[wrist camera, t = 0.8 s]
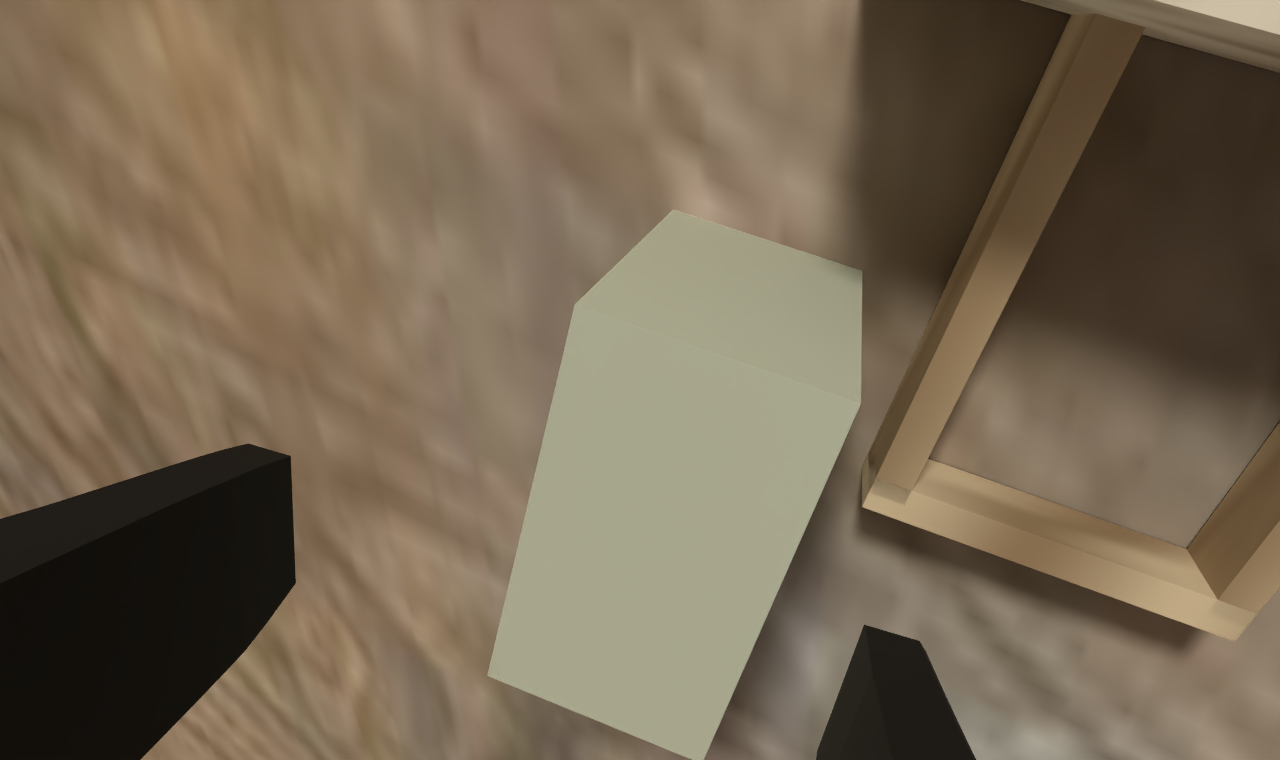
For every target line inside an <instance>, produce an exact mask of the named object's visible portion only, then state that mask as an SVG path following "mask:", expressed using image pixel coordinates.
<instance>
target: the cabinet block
mask: <svg viewBox="0 0 1280 760" xmlns="http://www.w3.org/2000/svg"><path fill="white" fill-rule="evenodd" d="M861 352H862V271H861V270H858V269H855V268H852V267H849V266H846V265H843V264H839V263H836V262H833V261H830V260H827V259H824V258H821V257H818V256H815V255H812V254H809V253H806V252H803V251H800V250H797V249H794V248H790V247H787V246H784V245H781V244H778V243H775V242H772V241H769V240H766V239H763V238H760V237H757V236H754V235H751V234H748V233H744V232H741V231H738V230H735V229H732V228H729V227H726V226H723V225H720V224H717V223H714V222H711V221H708V220H705V219H702V218H699V217H695V216H692V215H689V214H686V213H683V212H680V211H677V210H674V209H673V210H672V211H671V212H670V213H669V214H668V215H667V216H666V217H665V218H664V219H663V220H662V221H661V222H660V223H659V224H658V225H657V226H656V227H655V228H654V229H653V230H652V231H651V232H649V233H648V234H647V235H646V236H645V237H644V238H643V239H642V240H641V241H640V242H639V243H638V244H637V245H636V246H635V247H634V248H633V249H632V250H631V251H630V252H629V253H628V254H627V255H626V256H625V257H624V258H623V259H621V260H620V261H619V262H618V263H617V264H616V265H615V266H614V267H613V268H612V269H611V270H610V271H609V272H608V273H607V274H606V275H605V276H604V277H603V278H602V279H601V280H600V281H599V282H598V283H597V284H596V285H595V286H594V287H592V288H591V289H590V290H589V291H588V292H587V293H586V294H585V295H584V296H583V297H582V298H581V299H580V300H579V301H578V302H577V303H576V304H575V306H574V311H573V315H572V319H571V323H570V328H569V332H568V336H567V340H566V345H565V349H564V353H563V357H562V362H561V366H560V370H559V374H558V379H557V383H556V387H555V391H554V395H553V400H552V404H551V408H550V412H549V417H548V421H547V425H546V429H545V434H544V438H543V442H542V446H541V451H540V455H539V459H538V463H537V468H536V472H535V476H534V480H533V485H532V489H531V493H530V497H529V501H528V506H527V510H526V514H525V518H524V523H523V527H522V531H521V535H520V540H519V544H518V548H517V552H516V557H515V561H514V565H513V569H512V574H511V578H510V582H509V586H508V591H507V595H506V599H505V603H504V608H503V612H502V616H501V620H500V624H499V629H498V633H497V637H496V641H495V646H494V650H493V654H492V658H491V663H490V667H489V671H488V675H487V676H489V677H491V678H494V679H496V680H499V681H501V682H504V683H506V684H509V685H511V686H513V687H516V688H518V689H521V690H523V691H526V692H528V693H531V694H533V695H535V696H538V697H540V698H543V699H545V700H548V701H550V702H552V703H555V704H557V705H560V706H562V707H565V708H567V709H570V710H572V711H574V712H577V713H579V714H582V715H584V716H587V717H589V718H591V719H594V720H596V721H599V722H601V723H604V724H606V725H609V726H611V727H613V728H616V729H618V730H621V731H623V732H626V733H628V734H631V735H633V736H635V737H638V738H640V739H643V740H645V741H648V742H650V743H652V744H655V745H657V746H660V747H662V748H665V749H667V750H670V751H672V752H674V753H677V754H679V755H682V756H684V757H687V758H689V759H692V760H704V758H705V756H706V753H707V751H708V749H709V747H710V744H711V742H712V740H713V737H714V735H715V733H716V731H717V728H718V726H719V724H720V722H721V719H722V717H723V715H724V713H725V710H726V708H727V706H728V703H729V701H730V699H731V697H732V694H733V692H734V690H735V688H736V685H737V683H738V681H739V679H740V676H741V674H742V672H743V670H744V667H745V665H746V663H747V660H748V658H749V656H750V654H751V651H752V649H753V647H754V645H755V642H756V640H757V638H758V636H759V633H760V631H761V629H762V626H763V624H764V622H765V620H766V617H767V615H768V613H769V611H770V608H771V606H772V604H773V602H774V599H775V597H776V595H777V593H778V590H779V588H780V586H781V583H782V581H783V579H784V577H785V574H786V572H787V570H788V568H789V565H790V563H791V561H792V559H793V556H794V554H795V552H796V549H797V547H798V545H799V543H800V540H801V538H802V536H803V534H804V531H805V529H806V527H807V525H808V522H809V520H810V518H811V515H812V513H813V511H814V509H815V506H816V504H817V502H818V500H819V497H820V495H821V493H822V491H823V488H824V486H825V484H826V482H827V479H828V477H829V475H830V472H831V470H832V468H833V466H834V463H835V461H836V459H837V457H838V454H839V452H840V450H841V448H842V445H843V443H844V441H845V438H846V436H847V434H848V432H849V429H850V427H851V425H852V423H853V420H854V418H855V416H856V414H857V411H858V409H859V407H860V405H861Z"/></svg>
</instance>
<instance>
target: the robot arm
mask: <svg viewBox="0 0 1280 760" xmlns="http://www.w3.org/2000/svg"><path fill="white" fill-rule="evenodd" d="M295 583H296V579H295V554H294V529H293V504H292V479H291V456H289V455H285V454H282V453H278V452H275V451H272V450H268V449H265V448H261V447H258V446H255V445H251V444H244V445H240V446H236V447H232V448H228V449H224V450H221V451H217V452H214V453H210V454H207V455H204V456H200V457H197V458H194V459H190V460H187V461H184V462H181V463H178V464H174V465H171V466H168V467H165V468H162V469H159V470H156V471H153V472H150V473H146V474H143V475H140V476H137V477H134V478H131V479H128V480H125V481H122V482H118V483H115V484H112V485H109V486H106V487H103V488H100V489H97V490H93V491H90V492H87V493H84V494H81V495H78V496H75V497H72V498H69V499H65V500H62V501H59V502H56V503H53V504H50V505H46V506H43V507H40V508H36V509H33V510H29V511H26V512H23V513H19V514H16V515H12V516H9V517H5V518H2V519H0V760H140V759H141V758H142V757H143V756H144V755H145V754H146V753H147V752H148V751H149V750H150V749H151V748H152V747H153V746H154V745H155V744H156V743H157V742H158V741H159V740H160V739H161V738H162V737H163V736H164V735H165V734H166V733H167V732H168V731H169V730H170V729H171V728H172V727H173V726H174V725H175V724H176V722H177V721H178V720H179V719H180V718H181V717H182V716H183V715H184V714H185V713H186V712H187V711H188V710H189V709H190V708H191V707H192V706H193V705H194V704H195V703H196V702H197V701H198V700H199V699H200V698H201V697H202V696H203V695H204V694H205V693H206V691H207V690H208V689H209V688H210V687H211V686H212V685H213V684H214V683H215V682H216V681H217V680H218V679H219V678H220V677H221V676H222V675H223V674H224V673H225V672H226V671H227V670H228V668H229V667H230V666H231V665H232V664H233V663H234V662H235V661H236V660H237V659H238V658H239V657H240V656H241V655H242V653H243V652H244V651H245V650H246V649H247V648H248V646H249V645H250V644H251V642H252V641H253V640H254V639H255V637H256V636H257V635H258V633H259V632H260V631H261V630H262V628H263V627H264V626H265V624H266V623H267V622H268V621H269V619H270V618H271V617H272V615H273V614H274V612H275V611H276V610H277V608H278V607H279V605H280V604H281V603H282V601H283V600H284V599H285V597H286V596H287V594H288V593H289V592H290V590H291V589H292V587H293V586H294V585H295ZM816 760H976V758H975V756H974V754H973V752H972V750H971V748H970V746H969V744H968V742H967V740H966V738H965V736H964V734H963V732H962V729H961V727H960V725H959V723H958V721H957V719H956V717H955V715H954V713H953V710H952V708H951V706H950V704H949V702H948V700H947V697H946V695H945V693H944V691H943V689H942V686H941V684H940V682H939V680H938V678H937V675H936V673H935V671H934V669H933V666H932V664H931V662H930V660H929V658H928V655H927V653H926V651H925V650H924V648H923V646H922V644H921V643H920V641H917V640H914V639H911V638H907V637H904V636H900V635H897V634H894V633H890V632H887V631H883V630H880V629H877V628H873V627H870V626H866V625H864V627H863V629H862V632H861V635H860V637H859V640H858V643H857V646H856V648H855V651H854V654H853V656H852V659H851V662H850V664H849V667H848V670H847V672H846V675H845V678H844V681H843V683H842V686H841V689H840V691H839V694H838V697H837V699H836V702H835V705H834V708H833V710H832V713H831V716H830V718H829V721H828V724H827V726H826V729H825V732H824V734H823V737H822V740H821V743H820V745H819V748H818V751H817V758H816Z"/></svg>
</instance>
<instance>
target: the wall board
mask: <svg viewBox="0 0 1280 760" xmlns="http://www.w3.org/2000/svg"><path fill="white" fill-rule="evenodd" d="M1021 1H1025V2H1028V3H1032V4H1035V5H1039V6H1043V7H1046V8H1050V9H1053V10H1057V11H1060V12H1064V13H1068V14H1071V16H1070V19H1069V21H1068V23H1067V25H1066V27H1065V29H1064V32H1063V34H1062V36H1061V38H1060V40H1059V42H1058V45H1057V47H1056V49H1055V51H1054V53H1053V55H1052V58H1051V60H1050V62H1049V64H1048V66H1047V68H1046V70H1045V73H1044V75H1043V77H1042V79H1041V81H1040V83H1039V86H1038V88H1037V90H1036V92H1035V94H1034V96H1033V99H1032V101H1031V103H1030V105H1029V107H1028V109H1027V112H1026V114H1025V116H1024V118H1023V120H1022V122H1021V125H1020V127H1019V129H1018V131H1017V133H1016V135H1015V138H1014V140H1013V142H1012V144H1011V146H1010V148H1009V151H1008V153H1007V155H1006V157H1005V159H1004V161H1003V164H1002V166H1001V168H1000V170H999V172H998V174H997V177H996V179H995V181H994V183H993V185H992V187H991V190H990V192H989V194H988V196H987V198H986V200H985V202H984V205H983V207H982V209H981V211H980V213H979V215H978V218H977V220H976V222H975V224H974V226H973V228H972V231H971V233H970V235H969V237H968V239H967V241H966V244H965V246H964V248H963V250H962V252H961V254H960V257H959V259H958V261H957V263H956V265H955V267H954V270H953V272H952V274H951V276H950V278H949V280H948V283H947V285H946V287H945V289H944V291H943V293H942V296H941V298H940V300H939V302H938V304H937V306H936V309H935V311H934V313H933V315H932V317H931V319H930V321H929V324H928V326H927V328H926V330H925V332H924V334H923V337H922V339H921V341H920V343H919V345H918V347H917V350H916V352H915V354H914V356H913V358H912V360H911V363H910V365H909V367H908V369H907V371H906V373H905V376H904V378H903V380H902V382H901V384H900V386H899V389H898V391H897V393H896V395H895V397H894V399H893V402H892V404H891V406H890V408H889V410H888V412H887V415H886V417H885V419H884V421H883V423H882V425H881V428H880V430H879V432H878V434H877V436H876V438H875V441H874V443H873V445H872V447H871V449H870V451H869V453H868V456H867V458H866V460H865V462H864V464H863V466H862V507H863V508H866V509H869V510H872V511H874V512H877V513H880V514H883V515H886V516H888V517H891V518H894V519H897V520H899V521H902V522H905V523H908V524H910V525H913V526H916V527H919V528H922V529H924V530H927V531H930V532H933V533H935V534H938V535H941V536H944V537H946V538H949V539H952V540H955V541H958V542H960V543H963V544H966V545H969V546H971V547H974V548H977V549H980V550H982V551H985V552H988V553H991V554H994V555H996V556H999V557H1002V558H1005V559H1007V560H1010V561H1013V562H1016V563H1018V564H1021V565H1024V566H1027V567H1030V568H1032V569H1035V570H1038V571H1041V572H1043V573H1046V574H1049V575H1052V576H1055V577H1057V578H1060V579H1063V580H1066V581H1068V582H1071V583H1074V584H1077V585H1079V586H1082V587H1085V588H1088V589H1091V590H1093V591H1096V592H1099V593H1102V594H1104V595H1107V596H1110V597H1113V598H1115V599H1118V600H1121V601H1124V602H1127V603H1129V604H1132V605H1135V606H1138V607H1140V608H1143V609H1146V610H1149V611H1151V612H1154V613H1157V614H1160V615H1163V616H1165V617H1168V618H1171V619H1174V620H1176V621H1179V622H1182V623H1185V624H1187V625H1190V626H1193V627H1196V628H1199V629H1201V630H1204V631H1207V632H1210V633H1212V634H1215V635H1218V636H1221V637H1223V638H1226V639H1229V640H1232V641H1235V640H1236V639H1237V638H1238V637H1239V636H1240V634H1241V633H1242V632H1243V631H1244V629H1245V628H1246V627H1247V626H1248V625H1249V623H1250V622H1251V621H1252V620H1253V619H1254V617H1255V616H1256V615H1257V614H1258V612H1259V611H1260V610H1261V609H1262V608H1263V606H1264V605H1265V604H1266V603H1267V601H1268V600H1269V599H1270V598H1271V597H1272V595H1273V594H1274V593H1275V592H1276V591H1277V589H1278V588H1279V587H1280V422H1279V424H1278V425H1277V426H1276V428H1275V429H1274V430H1273V432H1272V433H1271V435H1270V436H1269V437H1268V439H1267V440H1266V441H1265V443H1264V444H1263V445H1262V447H1261V448H1260V450H1259V451H1258V452H1257V454H1256V455H1255V456H1254V458H1253V459H1252V461H1251V462H1250V463H1249V465H1248V466H1247V467H1246V469H1245V470H1244V472H1243V473H1242V474H1241V476H1240V477H1239V478H1238V480H1237V481H1236V482H1235V484H1234V485H1233V487H1232V488H1231V489H1230V491H1229V492H1228V493H1227V495H1226V496H1225V498H1224V499H1223V500H1222V502H1221V503H1220V504H1219V506H1218V507H1217V509H1216V510H1215V511H1214V513H1213V514H1212V515H1211V517H1210V518H1209V519H1208V521H1207V522H1206V524H1205V525H1204V526H1203V528H1202V529H1201V530H1200V532H1199V533H1198V535H1197V536H1196V537H1195V539H1194V540H1193V541H1192V543H1191V544H1190V546H1189V547H1188V548H1187V549H1184V548H1181V547H1179V546H1176V545H1173V544H1170V543H1167V542H1164V541H1161V540H1159V539H1156V538H1153V537H1150V536H1147V535H1144V534H1141V533H1139V532H1136V531H1133V530H1130V529H1127V528H1124V527H1122V526H1119V525H1116V524H1113V523H1110V522H1107V521H1104V520H1102V519H1099V518H1096V517H1093V516H1090V515H1087V514H1084V513H1082V512H1079V511H1076V510H1073V509H1070V508H1067V507H1064V506H1062V505H1059V504H1056V503H1053V502H1050V501H1047V500H1044V499H1042V498H1039V497H1036V496H1033V495H1030V494H1027V493H1025V492H1022V491H1019V490H1016V489H1013V488H1010V487H1007V486H1005V485H1002V484H999V483H996V482H993V481H990V480H987V479H985V478H982V477H979V476H976V475H973V474H970V473H967V472H965V471H962V470H959V469H956V468H953V467H950V466H947V465H945V464H942V463H939V462H936V461H933V460H930V459H928V457H929V455H930V453H931V452H932V450H933V448H934V446H935V444H936V442H937V440H938V438H939V436H940V434H941V432H942V430H943V428H944V426H945V424H946V422H947V420H948V418H949V416H950V414H951V412H952V410H953V408H954V406H955V404H956V402H957V400H958V398H959V396H960V394H961V392H962V390H963V388H964V386H965V384H966V382H967V380H968V378H969V376H970V374H971V372H972V370H973V368H974V366H975V364H976V362H977V360H978V358H979V356H980V354H981V352H982V350H983V349H984V347H985V345H986V343H987V341H988V339H989V337H990V335H991V333H992V331H993V329H994V327H995V325H996V323H997V321H998V319H999V317H1000V315H1001V313H1002V311H1003V309H1004V307H1005V305H1006V303H1007V301H1008V299H1009V297H1010V295H1011V293H1012V291H1013V289H1014V287H1015V285H1016V283H1017V281H1018V279H1019V277H1020V275H1021V273H1022V271H1023V269H1024V267H1025V265H1026V263H1027V261H1028V259H1029V257H1030V255H1031V253H1032V251H1033V249H1034V247H1035V246H1036V244H1037V242H1038V240H1039V238H1040V236H1041V234H1042V232H1043V230H1044V228H1045V226H1046V224H1047V222H1048V220H1049V218H1050V216H1051V214H1052V212H1053V210H1054V208H1055V206H1056V204H1057V202H1058V200H1059V198H1060V196H1061V194H1062V192H1063V190H1064V188H1065V186H1066V184H1067V182H1068V180H1069V178H1070V176H1071V174H1072V172H1073V170H1074V168H1075V166H1076V164H1077V162H1078V160H1079V158H1080V156H1081V154H1082V152H1083V150H1084V148H1085V146H1086V144H1087V143H1088V141H1089V139H1090V137H1091V135H1092V133H1093V131H1094V129H1095V127H1096V125H1097V123H1098V121H1099V119H1100V117H1101V115H1102V113H1103V111H1104V109H1105V107H1106V105H1107V103H1108V101H1109V99H1110V97H1111V95H1112V93H1113V91H1114V89H1115V87H1116V85H1117V83H1118V81H1119V79H1120V77H1121V75H1122V73H1123V71H1124V69H1125V67H1126V65H1127V63H1128V61H1129V59H1130V57H1131V55H1132V53H1133V51H1134V49H1135V47H1136V45H1137V43H1138V42H1139V40H1140V38H1141V36H1142V34H1143V35H1146V36H1150V37H1153V38H1157V39H1160V40H1164V41H1168V42H1171V43H1175V44H1178V45H1182V46H1185V47H1189V48H1192V49H1196V50H1200V51H1203V52H1207V53H1210V54H1214V55H1217V56H1221V57H1225V58H1228V59H1232V60H1235V61H1239V62H1242V63H1246V64H1250V65H1253V66H1257V67H1260V68H1264V69H1267V70H1271V71H1275V72H1278V73H1280V0H1021Z"/></svg>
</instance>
